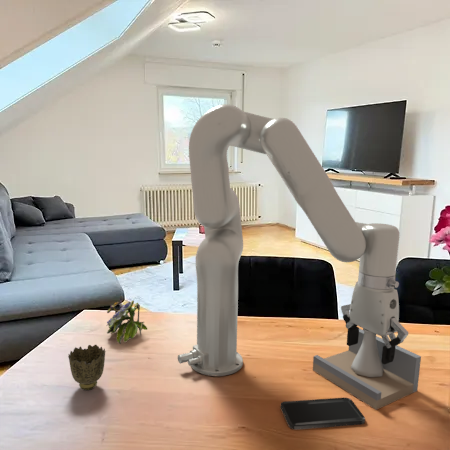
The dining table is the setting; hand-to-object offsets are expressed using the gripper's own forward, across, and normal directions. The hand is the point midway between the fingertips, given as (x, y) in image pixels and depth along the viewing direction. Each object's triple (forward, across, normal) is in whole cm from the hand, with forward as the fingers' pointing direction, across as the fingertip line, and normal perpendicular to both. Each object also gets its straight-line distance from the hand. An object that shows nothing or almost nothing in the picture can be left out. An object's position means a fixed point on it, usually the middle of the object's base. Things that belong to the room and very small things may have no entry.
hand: (368, 353), depth 96 cm
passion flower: (+7, +49, +39) cm, 63 cm away
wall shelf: (+6, 0, +2) cm, 7 cm away
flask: (+4, 0, 0) cm, 4 cm away
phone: (+7, -5, +19) cm, 21 cm away
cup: (+7, +28, +55) cm, 62 cm away
